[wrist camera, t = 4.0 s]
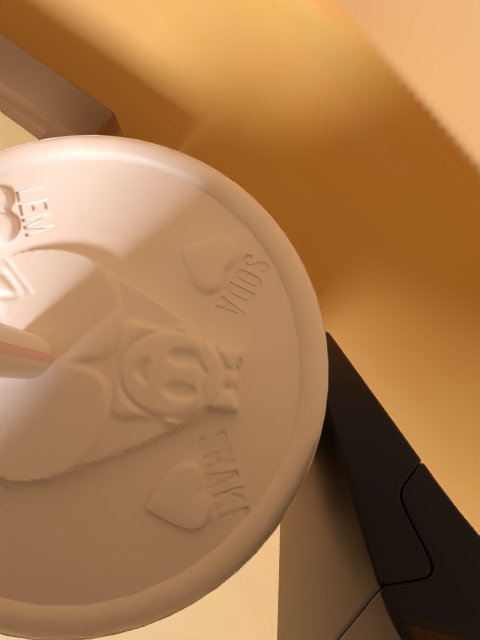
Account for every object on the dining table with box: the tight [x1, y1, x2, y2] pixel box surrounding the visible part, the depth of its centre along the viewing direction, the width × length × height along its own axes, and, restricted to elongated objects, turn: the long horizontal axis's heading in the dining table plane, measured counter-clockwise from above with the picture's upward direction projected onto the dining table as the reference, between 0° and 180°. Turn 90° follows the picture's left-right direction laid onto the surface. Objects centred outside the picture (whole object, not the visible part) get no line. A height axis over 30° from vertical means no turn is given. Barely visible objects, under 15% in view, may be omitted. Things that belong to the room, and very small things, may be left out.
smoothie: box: [0, 135, 328, 640], centre depth 8 cm, size 6×6×14 cm
